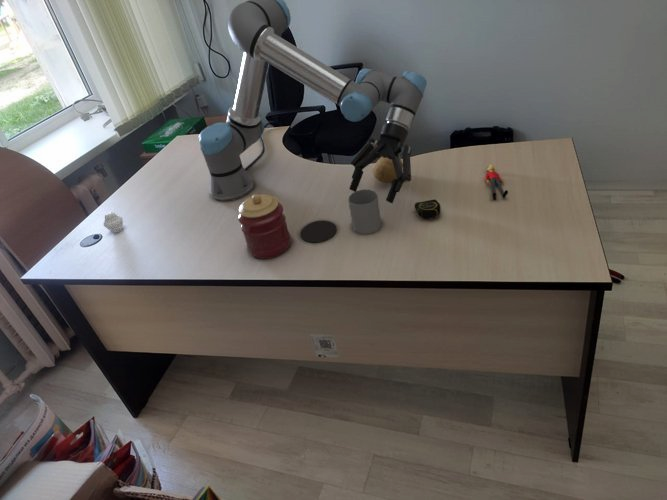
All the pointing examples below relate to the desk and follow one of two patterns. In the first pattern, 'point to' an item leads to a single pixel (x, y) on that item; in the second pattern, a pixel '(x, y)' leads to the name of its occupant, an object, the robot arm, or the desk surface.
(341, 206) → the desk surface
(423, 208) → the tape measure
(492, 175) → the person figure
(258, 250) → the kitchen canister
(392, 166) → the potato
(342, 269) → the desk surface
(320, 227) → the coaster
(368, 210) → the cup
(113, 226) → the beige knobbly lump
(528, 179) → the desk surface
